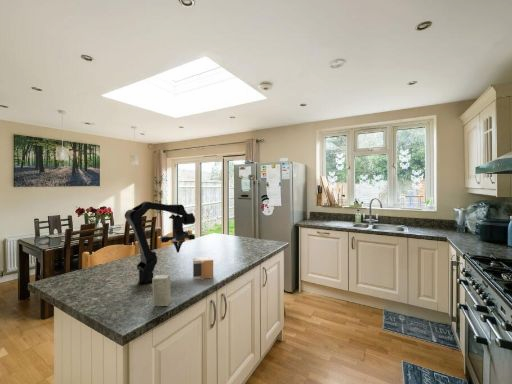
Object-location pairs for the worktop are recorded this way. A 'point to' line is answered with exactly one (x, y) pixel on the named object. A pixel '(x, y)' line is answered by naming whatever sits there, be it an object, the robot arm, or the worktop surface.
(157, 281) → the skincare box
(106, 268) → the worktop surface
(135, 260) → the worktop surface
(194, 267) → the block
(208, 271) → the orange l-shaped block
